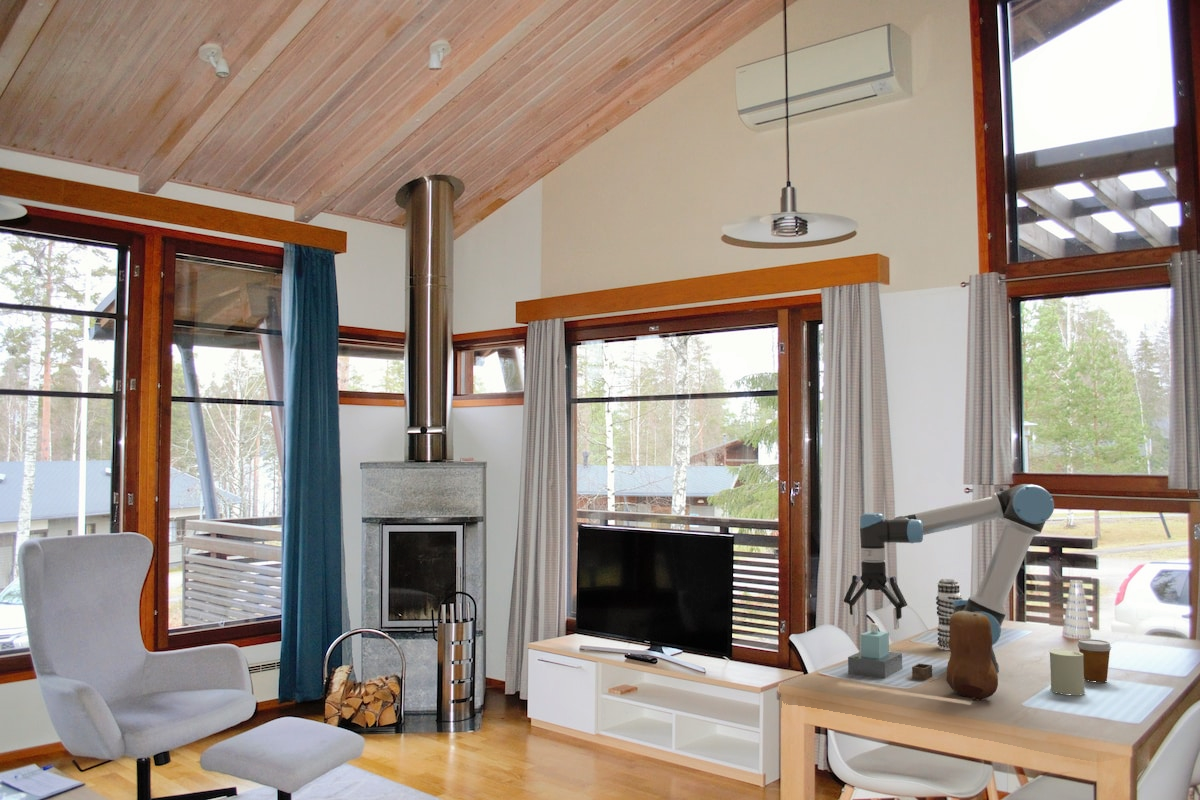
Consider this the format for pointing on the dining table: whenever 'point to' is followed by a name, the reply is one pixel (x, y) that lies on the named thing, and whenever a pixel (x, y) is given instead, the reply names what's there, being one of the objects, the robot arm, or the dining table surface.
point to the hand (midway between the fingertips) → (875, 627)
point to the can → (1067, 672)
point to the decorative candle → (946, 609)
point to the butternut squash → (971, 656)
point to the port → (875, 665)
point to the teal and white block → (874, 643)
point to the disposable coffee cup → (1095, 659)
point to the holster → (922, 673)
